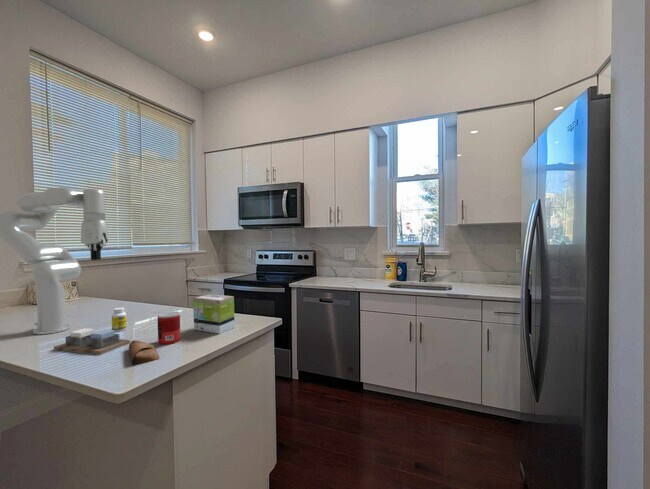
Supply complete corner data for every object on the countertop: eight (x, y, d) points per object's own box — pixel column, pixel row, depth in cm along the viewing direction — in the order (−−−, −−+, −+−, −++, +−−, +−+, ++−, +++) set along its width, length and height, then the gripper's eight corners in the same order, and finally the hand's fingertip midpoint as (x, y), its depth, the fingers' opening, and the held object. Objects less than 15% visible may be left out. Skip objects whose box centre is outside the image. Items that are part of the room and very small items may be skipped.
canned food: (184, 339, 122) (184, 312, 122) (168, 345, 115) (168, 317, 114) (170, 337, 125) (169, 310, 124) (153, 343, 117) (152, 315, 117)
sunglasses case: (162, 359, 102) (149, 344, 100) (141, 374, 98) (128, 360, 96) (154, 344, 116) (143, 331, 114) (136, 357, 113) (125, 344, 111)
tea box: (193, 330, 133) (192, 297, 133) (209, 324, 143) (208, 293, 142) (220, 334, 128) (219, 299, 127) (235, 327, 137) (234, 295, 137)
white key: (70, 341, 115) (70, 332, 114) (84, 337, 120) (84, 328, 120) (81, 342, 113) (80, 333, 113) (94, 337, 118) (94, 329, 118)
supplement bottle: (119, 332, 133) (118, 310, 132) (108, 331, 134) (108, 309, 134) (129, 328, 138) (128, 307, 138) (119, 328, 139) (118, 306, 139)
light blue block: (90, 342, 112) (90, 333, 112) (104, 338, 117) (104, 329, 117) (101, 344, 111) (101, 334, 111) (115, 339, 116) (114, 330, 116)
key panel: (54, 349, 112) (53, 338, 112) (86, 339, 124) (86, 329, 124) (100, 354, 107) (100, 342, 107) (130, 343, 118) (129, 332, 118)
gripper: (72, 217, 130) (73, 260, 130) (99, 216, 126) (101, 260, 126) (89, 218, 137) (91, 259, 137) (116, 217, 133) (117, 259, 134)
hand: (95, 259), depth 132 cm, fingers closed
